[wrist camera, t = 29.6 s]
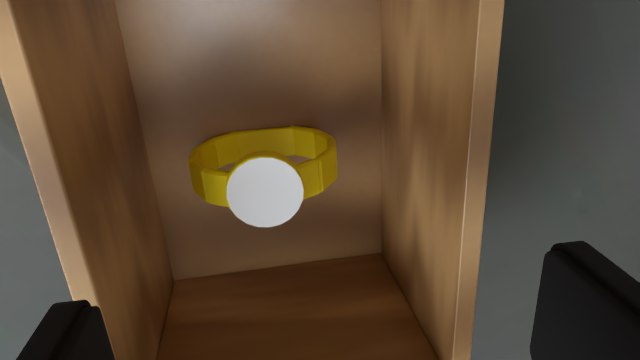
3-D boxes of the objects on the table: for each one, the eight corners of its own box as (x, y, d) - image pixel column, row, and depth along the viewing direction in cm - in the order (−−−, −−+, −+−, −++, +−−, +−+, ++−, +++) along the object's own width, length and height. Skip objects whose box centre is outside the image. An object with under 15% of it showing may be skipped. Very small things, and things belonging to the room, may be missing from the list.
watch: (323, 106, 21) (352, 145, 16) (327, 162, 22) (355, 216, 17) (192, 120, 21) (175, 166, 15) (202, 176, 22) (190, 239, 16)
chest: (390, 254, 26) (467, 391, 17) (164, 285, 24) (121, 453, 15) (392, -116, 19) (525, -211, 10) (77, -107, 17) (-95, -209, 8)
